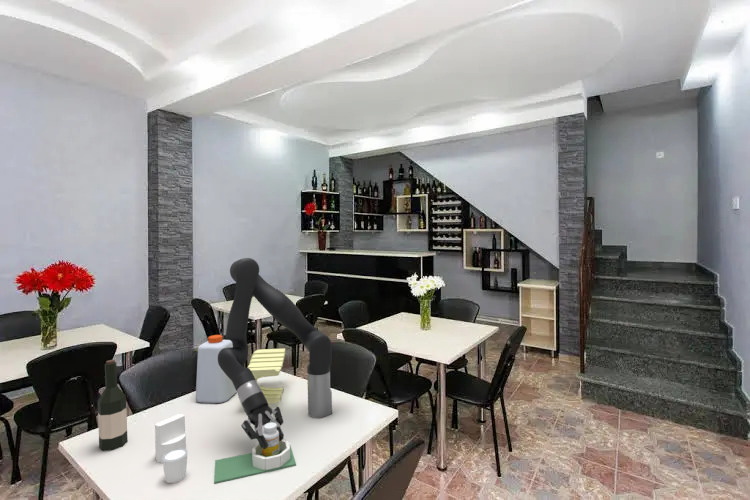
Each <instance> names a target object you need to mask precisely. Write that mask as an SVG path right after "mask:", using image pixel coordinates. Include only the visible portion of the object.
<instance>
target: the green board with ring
mask: <svg viewBox="0 0 750 500" xmlns="http://www.w3.org/2000/svg"><path fill="white" fill-rule="evenodd" d="M214 462H215V463H214V476H213V478H214V480H213V484H214V485H215V484H219V483H220V484H221V483H224V482H228V481H232V480H237V479H243V478H247V477H251V476H256V475H259V474H260V475H261V474H264V473H269V472H273V471H278V470H281V469H286V468H291V467H294V466H295V467H296V466H297V463H296V459H295V455H294V453H293V450H292V446H291V444H290V442H289V441H288V440H287V439H283V440H282V441H279V455H274V456H270V457H263V456H262V448H261V446H260V444H259V442H258V443H257V444H255V445H254V446H252V448H251V452H250V453H245V454H238V455H235V456H229V457H226V458H220V459H216V460H214Z"/></svg>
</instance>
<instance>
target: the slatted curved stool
mask: <svg viewBox="0 0 750 500" xmlns="http://www.w3.org/2000/svg"><path fill="white" fill-rule="evenodd" d="M285 356H286V348H270V349H268V348H267V349H266V348H264V349H256V350H255V351H253V353H252V354H251V358H250V360H249V363H248V366H247V368H249V369H250V370H251V372H252V373H253V375H254V377H255V379H256V381H257V382H258V380H259V379H261V378H268V377H277V376H279V375H280V373H281V371H282V368H283V367H284V364H283V363H284V362H285V361H284V360H285ZM259 386H260V388H261V390H262V392H263V394H264V396H265V398H266V400H267V402H268V404H279V403H280V401H281V398H282V396H283V393H284V387H265V386H261V385H259Z"/></svg>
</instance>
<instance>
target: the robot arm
mask: <svg viewBox="0 0 750 500" xmlns="http://www.w3.org/2000/svg"><path fill="white" fill-rule="evenodd" d="M259 273H260V266H259V263H258V262H257V261H256V260H255V259H253V258H251V257H244V258H241V259H238V260H235V261H233V263H232V264H231V265H230V269H229V274H230V277H231V278H232V280H233V281H234V282H235V290H234V292H235V293H234V297H233V302H232V304H231V307H230V310H229V313H228V317H227V324H226V330H225V338H226V340H230V341H232V344H233V347H228V348H223V349H222V350H221V351H220V352H219V354H218V364H219V366H220V368H221V369H222V370H223V372H224V373H225V374H226V375H227V376H228V378H229V379H230V380H231V381H232V382H233V385H234V387H235V389H236V391H237V392H236V394H237V398H238V399H239V402H240V404H241V406H242V409H243V410H244V412H245V415H246V416H247V420H246V419H245V420H244V421H243V422H242V423H241V424H240V425H241V428H242V429H243V432H245V433H246V435H247V437H248V438H249V439H250V440H251V441H252V440H257V442H258V443H259V444H260V446H261V448H263V449H266V448H267V447H268V444H267V442H266V440H265V438H264V435H262V433H263V427H264V425H265V424H267V423H271V422H273V423H276V424H277V430H278V431H279V441H282V440H284V437H285V435H284V433H283V431H282V428H281V426H282V425H283V424H284V418H283V416H282V411H281V409H280V407H279V406H276V407H275V408H272V407H270V406H269V403H268V402H267V400H266V398H265V396H264V394H263V392H262V390H261V388H260V386H261V385H260V384H259V383H258V380H257V381H256V379H255V377H254V375H253V373H252V372H251V370H250V369H249V368H248V367H245V366H244V365H245V363H246V362H247V361H248V358H249V349H248V348H249V347H248V341H247V332H248V323H249V316H250V311H251V310H250V309H251V303H252V299H253V297H254V298H255V300H256V301H257V302H258V303H259V304H260V305H261V306H262V307H263V308H264V309H265V311H267V312H268V313H269V315H271V317H273V318H274V319H275V320H276V322H278V323H279V324H281V326H283V327H284V328H286V329H287V331H290V332H291V333H293V334H294V335H295V336H296V337H297V339H298V340H299V341H300V342H301V343H302V344H303V346H304V348H305V349H306V350H307V351H308V352H309V359H308V360H309V363H308V364H307V368H306V370H307V371H306V372H307V373H306V374H307V375H306V376H307V377H306V378H307V414H308V416H309V417H312V418H314V419H315V418H319V419H320V418H324V417H327V416H329V415H331V414H333V396H332V395H333V392H332V389H331V366H332V355H333V354H332V352H333V351H332V350H333V349H332V347H333V346H332V341H331V339H330V337H329V336H328V335H327V334H325V333H323V332H322V331H320V330H319V329H318V328H316V327H315V326H314V325H313V324H311V323H310V322H309V321H308V320H307V319H306V318H305V316H304V315H303V313H302V311H301V310H300V308H298V306H297V305H296V304H295V303H294V302H293V301H292V300H291V299H290V298H289V296H287V295H286V294H285V293H284V292H282V291H281V290H279V289H278V288H276V287H274V286H272V285H271V284H270V283H268V281H266V280H265V279H264V278H263V276H261V275H260V274H259ZM251 424H252V425H253V426H254V428H253V426H252V425H251Z"/></svg>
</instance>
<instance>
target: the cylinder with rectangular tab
mask: <svg viewBox="0 0 750 500" xmlns="http://www.w3.org/2000/svg"><path fill="white" fill-rule="evenodd" d="M186 435H187V434H186V415H184V414H182V413H178V414H175V415H173V416H170V417H169V418H166V419H164V420H160V421H159V422H157V423H155V424H154V436H155V437H154V439H155V446H154V447H155V461H156V462H158V463H161V464H163V460H162V458H163V456H164V455H165V454H166V453H168V452H169V451H172V450H175V449H185V450H187V436H186Z"/></svg>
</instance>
